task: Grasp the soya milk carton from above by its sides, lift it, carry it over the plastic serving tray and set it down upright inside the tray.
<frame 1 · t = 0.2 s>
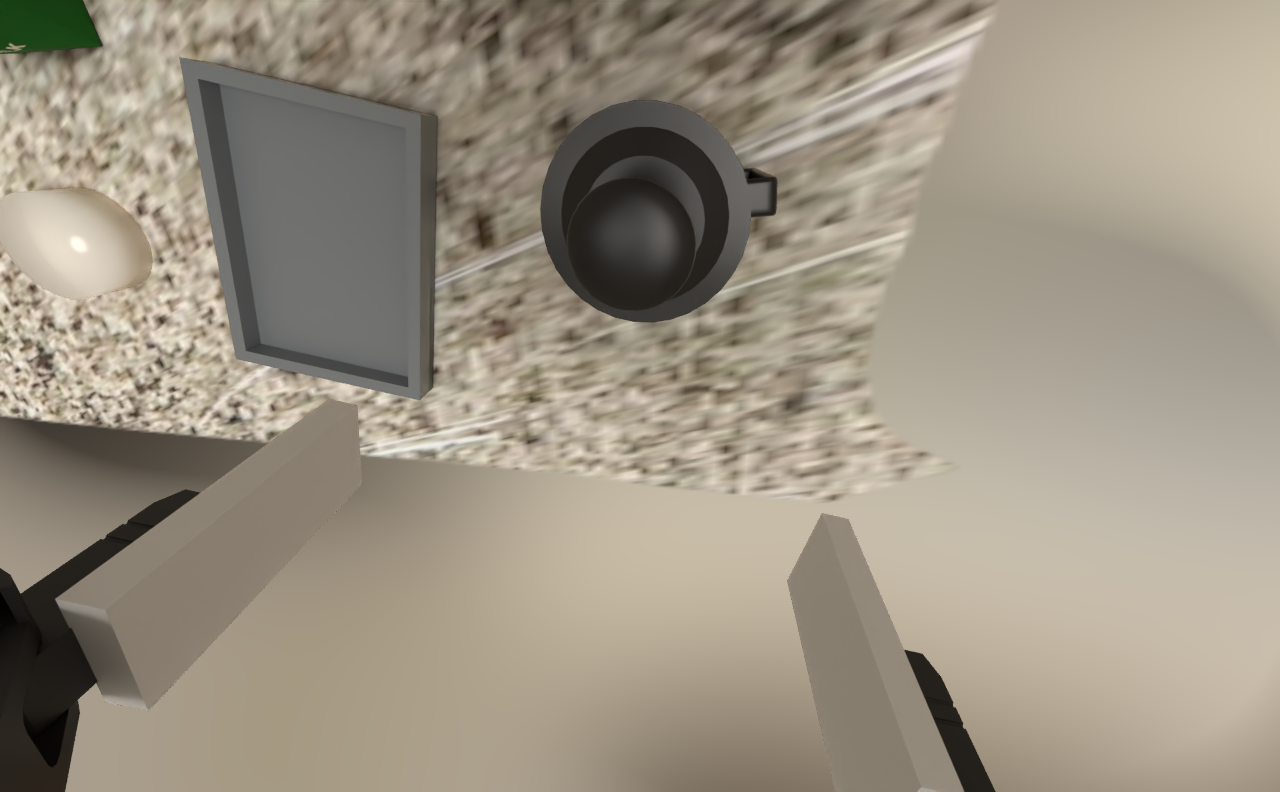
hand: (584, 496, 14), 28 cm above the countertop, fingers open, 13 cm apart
french press: (668, 186, 36), on the countertop
tray: (336, 246, 40), on the countertop
cream glossy pebble: (104, 239, 42), on the countertop
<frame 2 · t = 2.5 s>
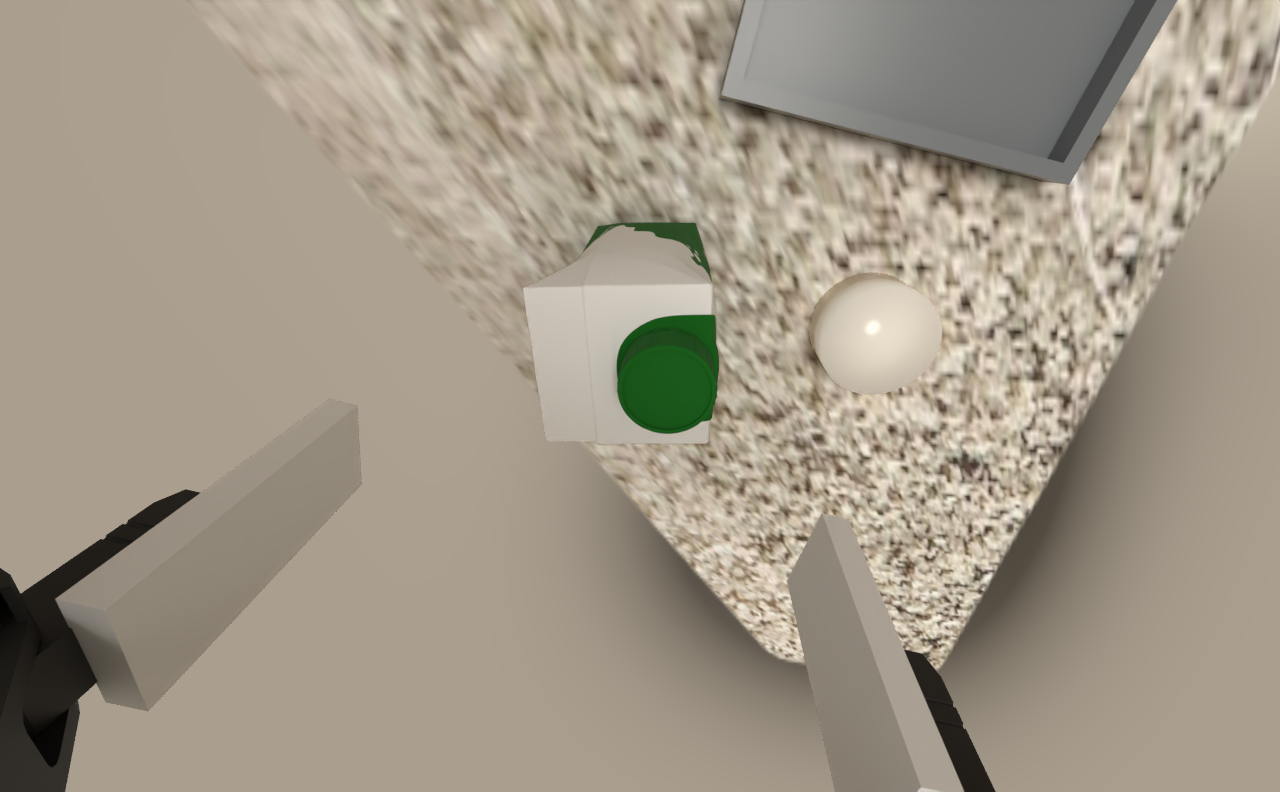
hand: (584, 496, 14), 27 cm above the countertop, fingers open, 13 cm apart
soya milk: (647, 271, 38), on the countertop
cream glossy pebble: (862, 324, 38), on the countertop
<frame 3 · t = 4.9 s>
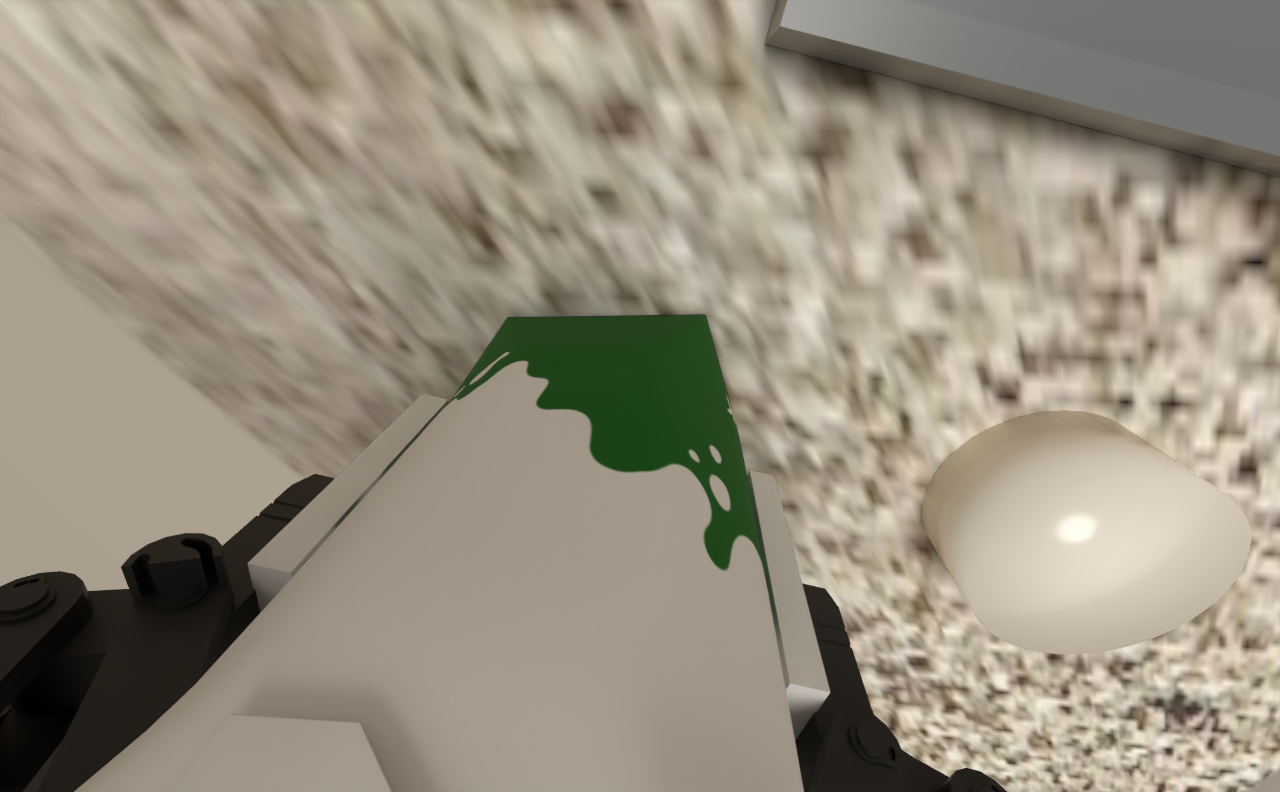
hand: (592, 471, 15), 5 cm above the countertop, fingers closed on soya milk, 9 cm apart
soya milk: (610, 398, 19), on the countertop, touching gripper
cream glossy pebble: (1027, 496, 20), on the countertop
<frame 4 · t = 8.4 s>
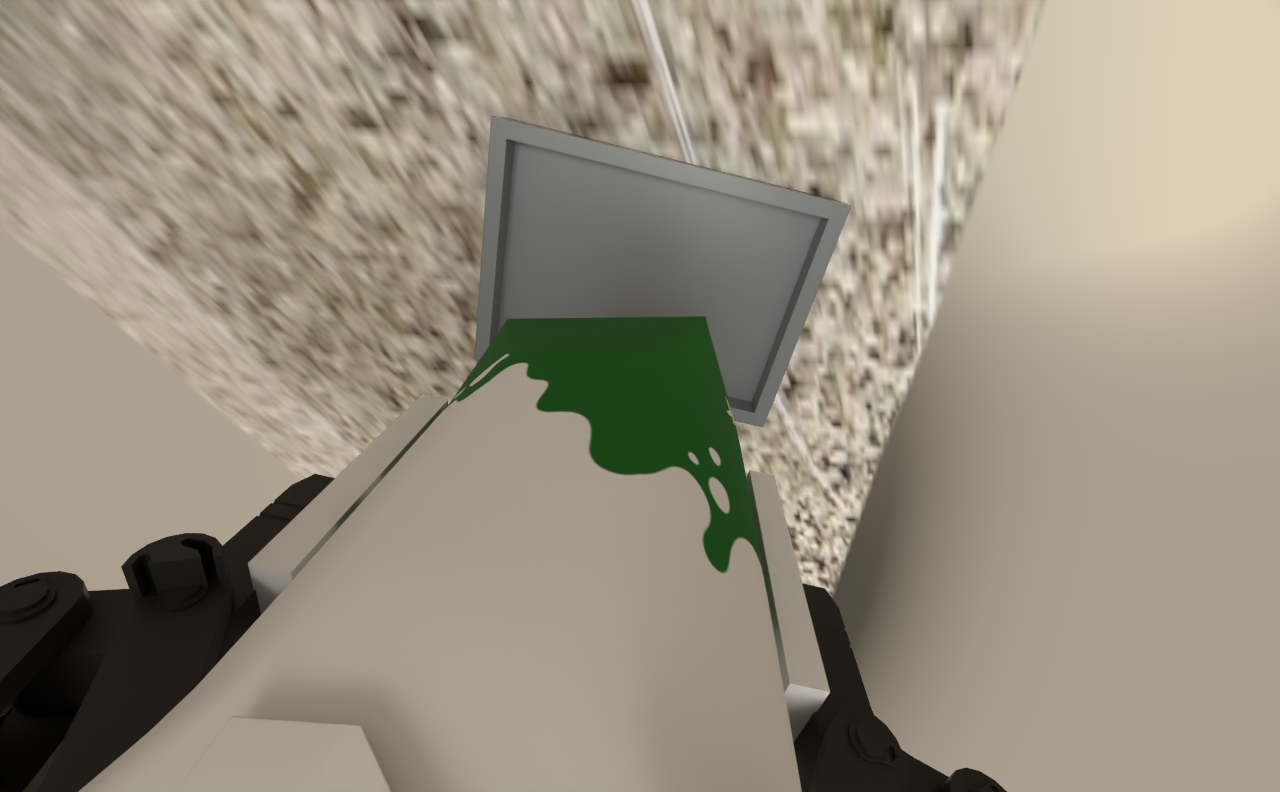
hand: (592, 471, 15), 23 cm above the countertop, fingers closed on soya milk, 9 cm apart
soya milk: (610, 399, 19), point 18 cm above the countertop, touching gripper
tray: (646, 280, 35), on the countertop
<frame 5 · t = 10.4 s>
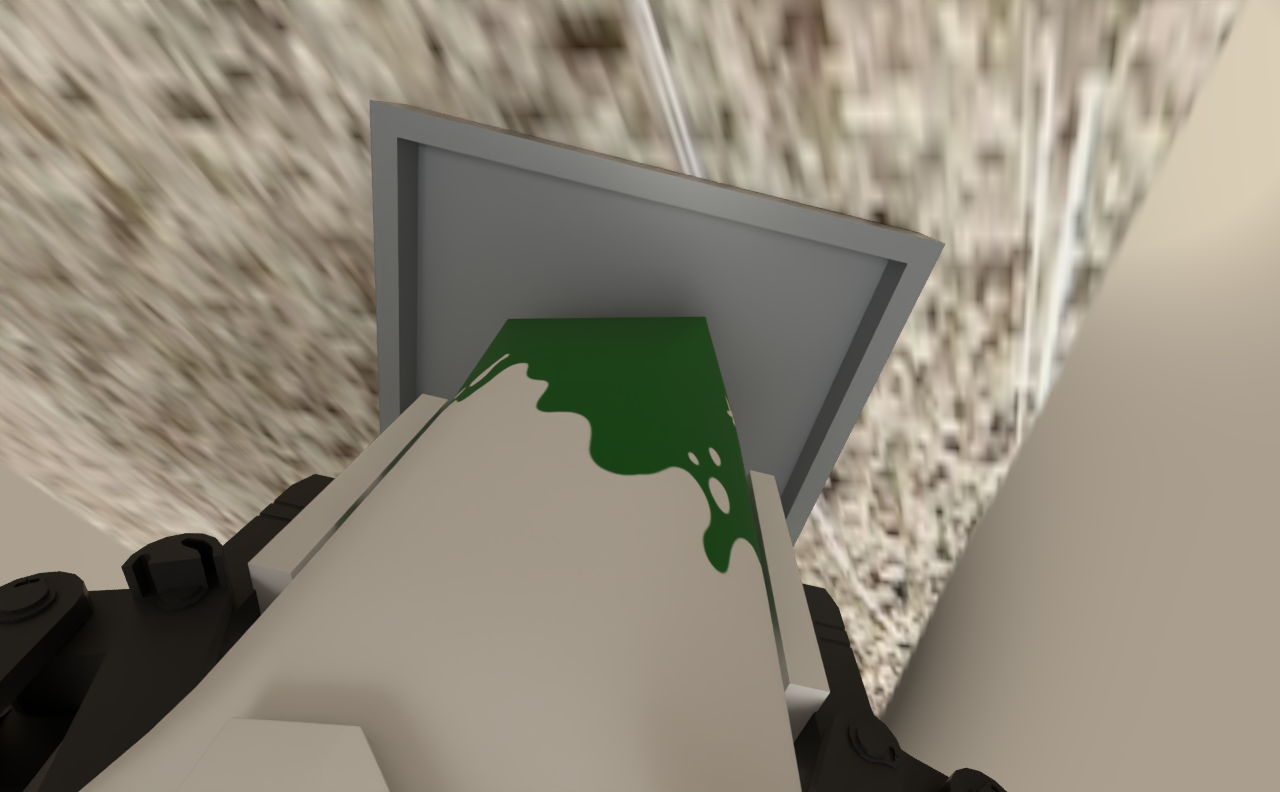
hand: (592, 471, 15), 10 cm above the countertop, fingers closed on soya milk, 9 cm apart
soya milk: (610, 400, 19), point 6 cm above the countertop, touching gripper
tray: (626, 343, 24), on the countertop
when the fingers open (7 cm above the countertop, at t = 11.7 s): soya milk drops 1 cm, resting on tray.
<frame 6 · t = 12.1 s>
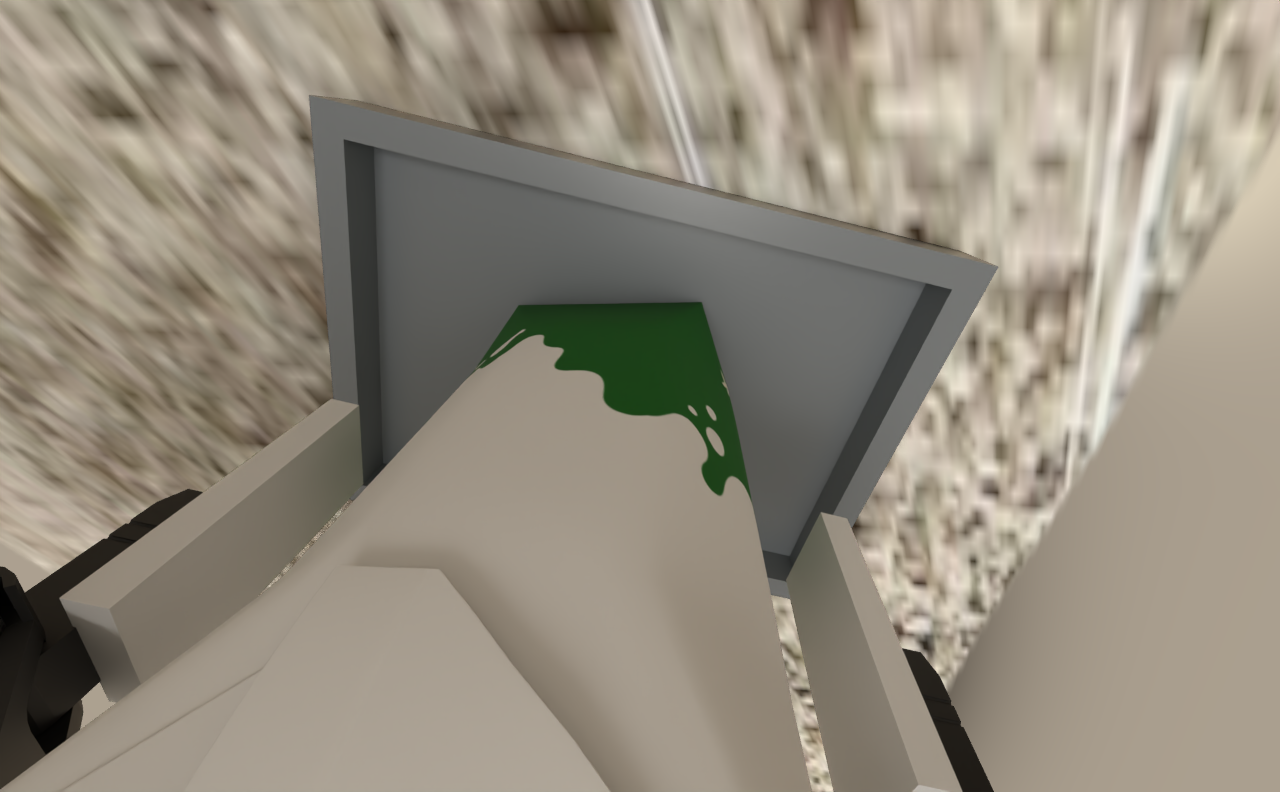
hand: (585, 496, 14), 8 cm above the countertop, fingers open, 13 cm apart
soya milk: (613, 382, 21), point 1 cm above the countertop, touching tray
tray: (619, 375, 21), on the countertop
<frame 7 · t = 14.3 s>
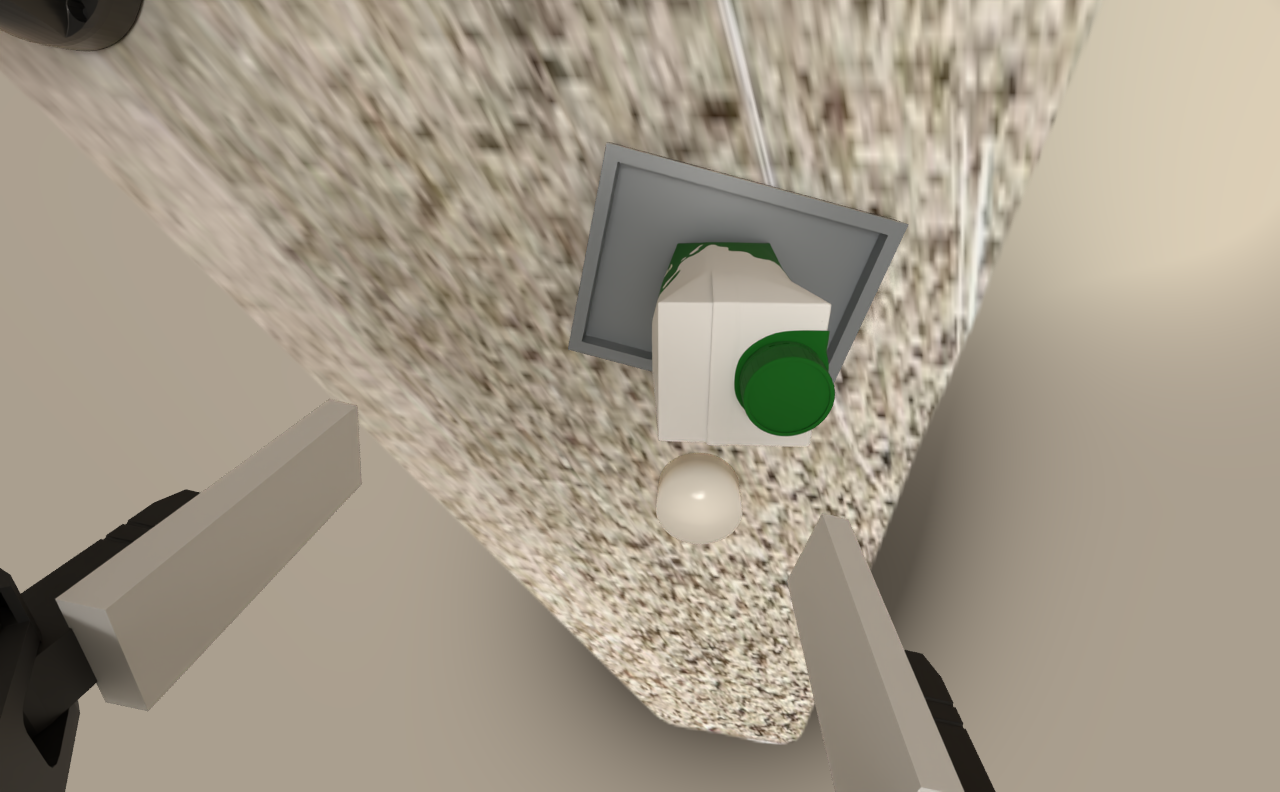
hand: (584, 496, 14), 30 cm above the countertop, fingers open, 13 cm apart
soya milk: (719, 286, 40), point 1 cm above the countertop, touching tray
tray: (721, 284, 41), on the countertop
cream glossy pebble: (698, 485, 50), on the countertop
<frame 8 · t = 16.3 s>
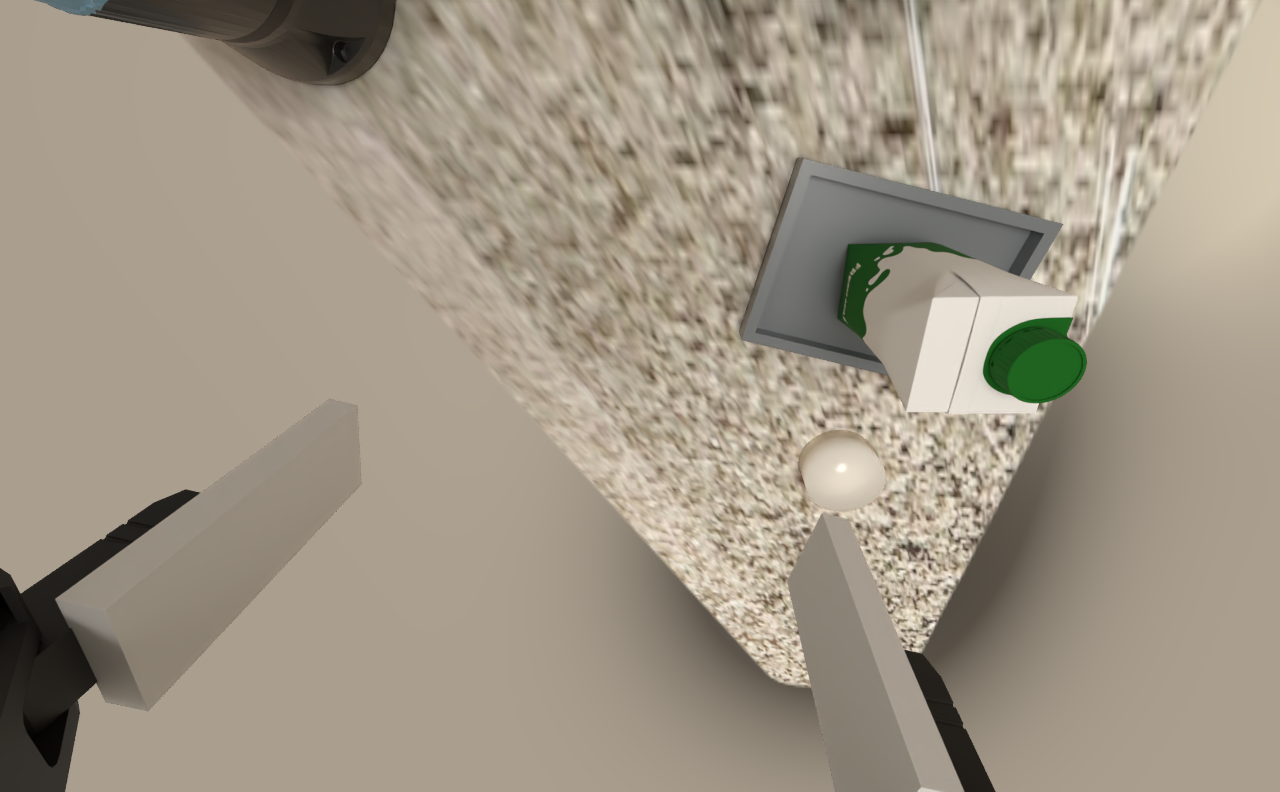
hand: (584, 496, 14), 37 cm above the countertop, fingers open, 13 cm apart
soya milk: (880, 281, 46), point 1 cm above the countertop, touching tray
tray: (880, 279, 46), on the countertop
cream glossy pebble: (835, 460, 56), on the countertop
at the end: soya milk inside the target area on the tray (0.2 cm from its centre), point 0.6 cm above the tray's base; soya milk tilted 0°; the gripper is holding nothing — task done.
